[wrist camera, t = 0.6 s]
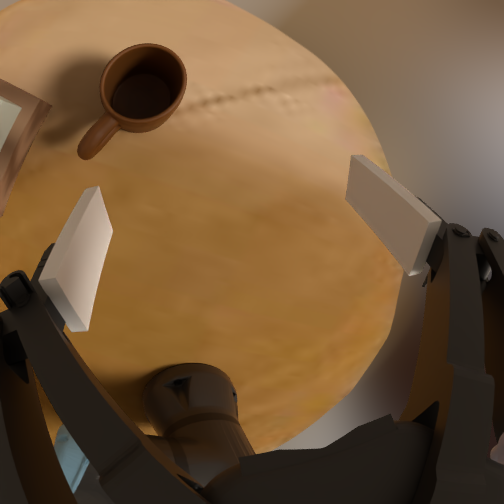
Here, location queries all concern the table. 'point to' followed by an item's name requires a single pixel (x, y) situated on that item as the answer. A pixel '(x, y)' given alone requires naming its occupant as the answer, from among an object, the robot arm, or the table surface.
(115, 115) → the mug
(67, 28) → the table surface
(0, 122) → the top block
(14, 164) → the base block
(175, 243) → the table surface
